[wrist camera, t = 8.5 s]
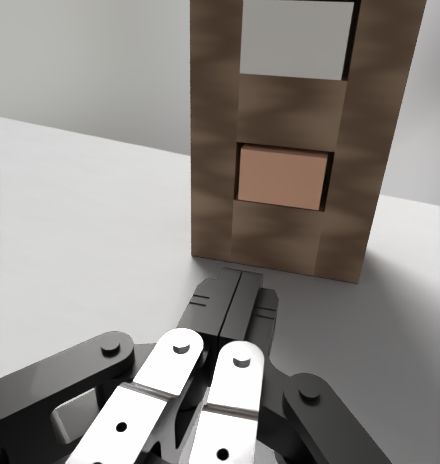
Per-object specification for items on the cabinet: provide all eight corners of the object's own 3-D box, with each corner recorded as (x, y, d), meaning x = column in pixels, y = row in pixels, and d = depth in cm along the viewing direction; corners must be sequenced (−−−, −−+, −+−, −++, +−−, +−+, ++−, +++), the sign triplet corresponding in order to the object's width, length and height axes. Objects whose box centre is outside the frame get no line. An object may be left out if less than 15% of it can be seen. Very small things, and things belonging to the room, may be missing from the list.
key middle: (239, 73, 21) (243, -2, 20) (251, 65, 24) (255, -1, 22) (340, 80, 20) (354, 2, 19) (340, 71, 23) (352, 3, 21)
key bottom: (238, 199, 27) (240, 149, 25) (247, 181, 29) (250, 135, 28) (318, 210, 25) (327, 158, 24) (320, 190, 28) (328, 143, 27)
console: (191, 255, 30) (188, -307, 17) (212, 219, 35) (223, -234, 22) (357, 283, 28) (511, -350, 14) (354, 240, 33) (466, -256, 19)
